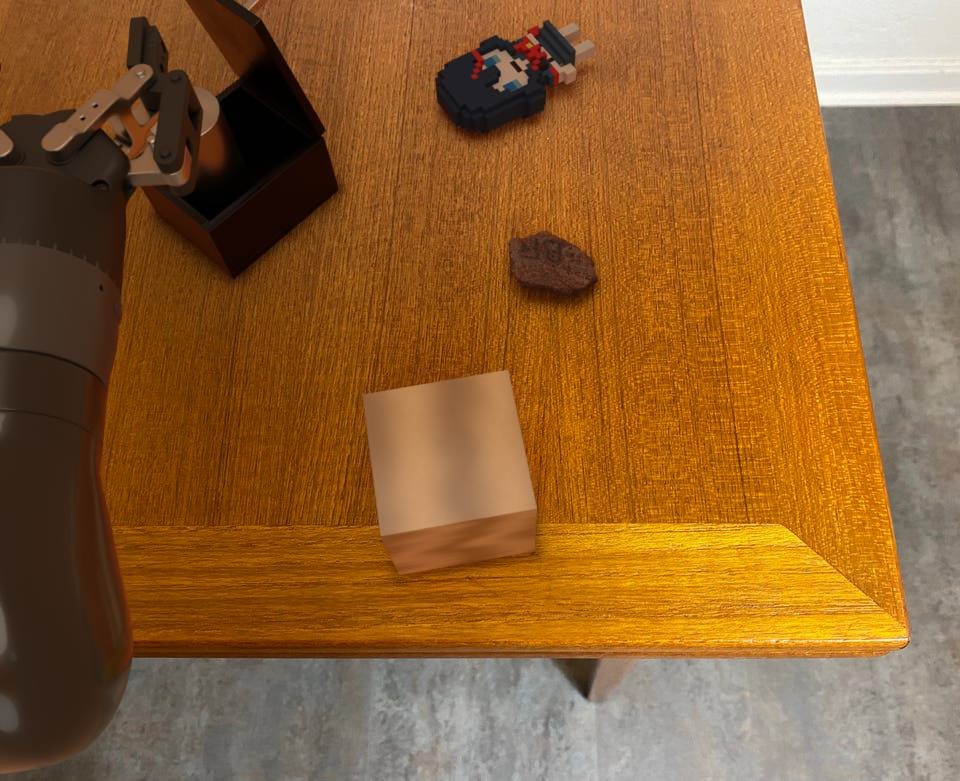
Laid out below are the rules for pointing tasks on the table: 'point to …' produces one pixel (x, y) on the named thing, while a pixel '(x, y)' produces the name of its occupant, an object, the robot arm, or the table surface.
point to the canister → (216, 161)
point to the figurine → (509, 76)
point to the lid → (255, 55)
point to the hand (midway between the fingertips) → (64, 38)
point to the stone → (551, 265)
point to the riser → (450, 472)
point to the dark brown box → (256, 183)
